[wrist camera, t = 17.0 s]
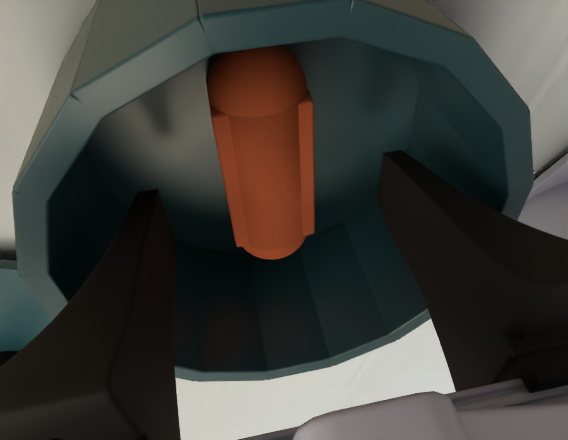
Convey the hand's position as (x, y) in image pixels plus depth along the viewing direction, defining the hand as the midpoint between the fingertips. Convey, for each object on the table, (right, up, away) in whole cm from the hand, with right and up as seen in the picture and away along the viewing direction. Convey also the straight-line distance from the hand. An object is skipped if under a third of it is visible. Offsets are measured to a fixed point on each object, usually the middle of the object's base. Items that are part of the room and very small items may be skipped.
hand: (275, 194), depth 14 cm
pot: (-1, +2, +2) cm, 3 cm away
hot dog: (-1, +2, +2) cm, 3 cm away
